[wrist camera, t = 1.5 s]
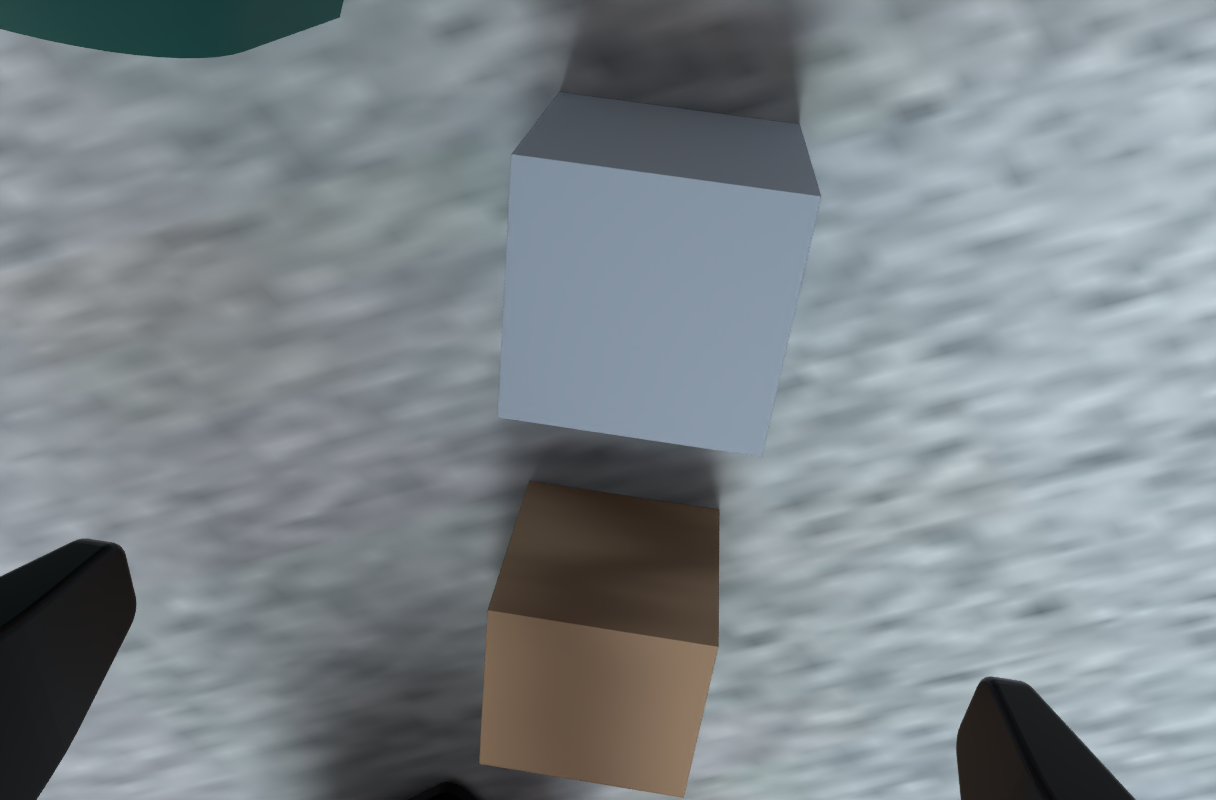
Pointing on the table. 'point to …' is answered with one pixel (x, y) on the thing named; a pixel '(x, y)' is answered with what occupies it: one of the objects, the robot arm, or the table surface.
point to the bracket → (165, 23)
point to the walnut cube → (602, 639)
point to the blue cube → (653, 271)
